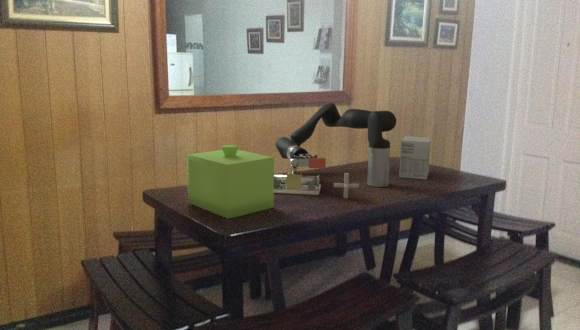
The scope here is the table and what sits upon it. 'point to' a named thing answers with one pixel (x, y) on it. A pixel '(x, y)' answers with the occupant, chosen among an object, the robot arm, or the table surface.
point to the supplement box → (414, 157)
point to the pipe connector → (346, 185)
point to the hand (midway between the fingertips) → (312, 163)
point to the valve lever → (308, 162)
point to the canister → (230, 181)
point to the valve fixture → (296, 183)
